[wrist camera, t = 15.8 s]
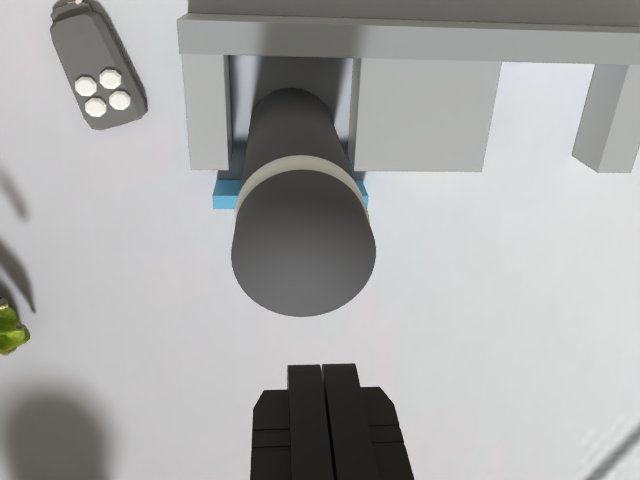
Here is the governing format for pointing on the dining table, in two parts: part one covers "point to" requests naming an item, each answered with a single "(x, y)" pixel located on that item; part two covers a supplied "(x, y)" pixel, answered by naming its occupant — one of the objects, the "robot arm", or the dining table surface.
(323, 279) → the grey cylinder white band
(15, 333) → the green leafy clump
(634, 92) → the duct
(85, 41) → the key chain
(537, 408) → the dining table surface
